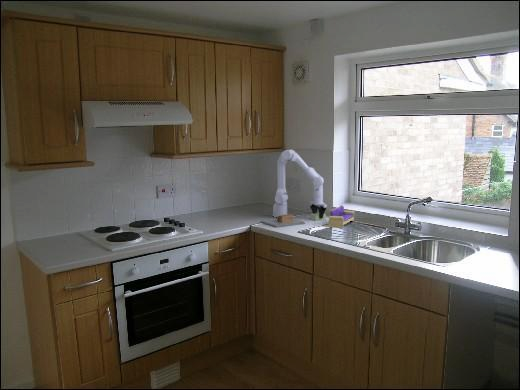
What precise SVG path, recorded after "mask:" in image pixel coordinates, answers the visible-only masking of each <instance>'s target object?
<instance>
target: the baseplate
mask: <svg viewBox="0 0 520 390" xmlns="http://www.w3.org/2000/svg"><path fill="white" fill-rule="evenodd" d="M260 223H261V224H264V223H265V224H264V225H267V226H270V227H273V228H283V227H289V226H290V227H291V226H297V225H298V226H299V225H304V224H305V221H303V220H299V219H296V218H293V221H291V222H284V223H282V222H278V221H277V218H270V219H262V220H260Z"/></svg>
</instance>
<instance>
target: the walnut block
mask: <svg viewBox="0 0 520 390" xmlns="http://www.w3.org/2000/svg"><path fill="white" fill-rule="evenodd" d="M276 219H277V221H278V222H282V223H284V222H291V221H293V219H294V215H292V214H289V213H287V214H286V215H277V218H276Z"/></svg>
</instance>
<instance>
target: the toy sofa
mask: <svg viewBox="0 0 520 390" xmlns="http://www.w3.org/2000/svg"><path fill="white" fill-rule="evenodd" d="M355 213H356V212H355V211H353V210H345V207H344V205H339V206H338V207H336V208H334V209H329V216H328V219H329V220H328V221H329V222H328V225H329V227H330V228H338V229H344V225H347V224H348V223H351V222H350V221H354V222H355Z"/></svg>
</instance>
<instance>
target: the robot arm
mask: <svg viewBox="0 0 520 390" xmlns="http://www.w3.org/2000/svg"><path fill="white" fill-rule="evenodd" d="M301 157H302V156H300V155H299V153H297V152H296V151H295V150H294V149H291V148H290V149H286V150H283V151H282V152H281V153H280V156H279V158H278V159H277V160H276V165H277V166H276V168H277V169H276V170H277V173H276V175H277V183H276V184H277V186H276V187H277V189H276V191H275V196H274V202H275V203H274V204H273V205H272V216H274V217H273V218H276V217H277V215H286V214H288V200H289V196H288V192H287V189H286V164H287V163H289V161H291V162H295V163H296V164H298V166H300V168H302V170H304V174H305V175H306V177H307V178H308V179H310V181H311V182H312V185H313V200H312V201H309V207H310V210H311V212H312V214H315V213H319V218H323V215H324V214H325V212H326V210H327V208H328V205H327V203H325V202H324V188H323V187H324V182H325V180H324V177H323V176H321V175H320V174H319V173H318V172H317V171H316V169H315V168H314V167H310V166H308V164H307V163H306V161H304V160H303V158H301Z"/></svg>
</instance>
